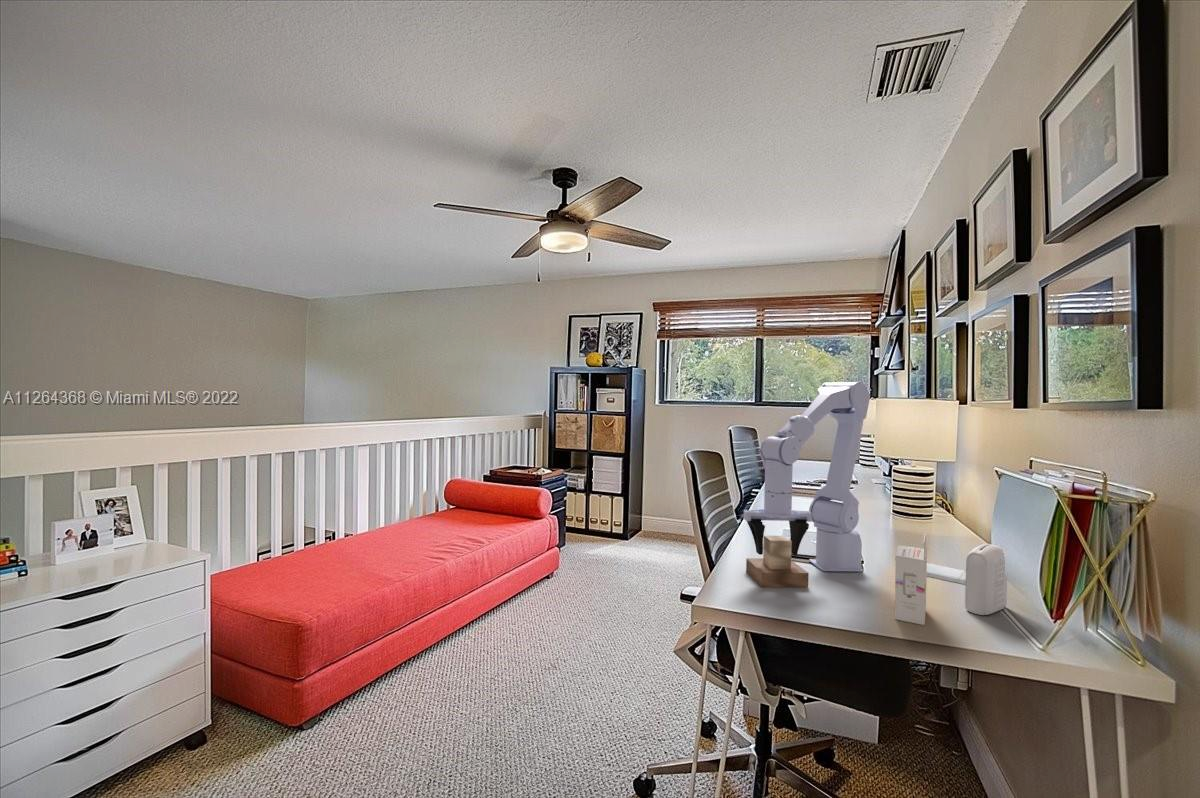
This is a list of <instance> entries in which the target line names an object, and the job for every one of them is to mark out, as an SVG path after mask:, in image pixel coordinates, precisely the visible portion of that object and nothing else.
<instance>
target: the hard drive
mask: <svg viewBox="0 0 1200 798" xmlns="http://www.w3.org/2000/svg"><path fill="white" fill-rule="evenodd" d="M927 577H929V578H933V579H938V580H941V581H946V582H947V581H948V582H952V583H956V584H961V585H965V581H966V570H962V569H957V568H952V567H948V566H944V565H938V564H933V563H928V562H927Z"/></svg>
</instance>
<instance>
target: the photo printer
mask: <svg viewBox="0 0 1200 798" xmlns="http://www.w3.org/2000/svg"><path fill="white" fill-rule="evenodd" d="M1002 548H1003V547H1001V546H999V545H997V544H991V543H983V544H980V545H978V546H975V547H974V548H973V549H972V550H970V551H969V552H968V554H967V555H966V559H965V571H966V581H965V584H964V587H965V588H964V608H965V609H966V610H967V611H968V612H970V613H972V614H974V615H979V616H988V615H992V614H994V613H996V612H998V611H999V612H1000V611H1002V610H1003V609H1005V608H1006V607H1007V604H1008V577H1007V578H1006V574H1005V557H1004V553H1003V550H1002ZM1004 607H1005V608H1004Z"/></svg>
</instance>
